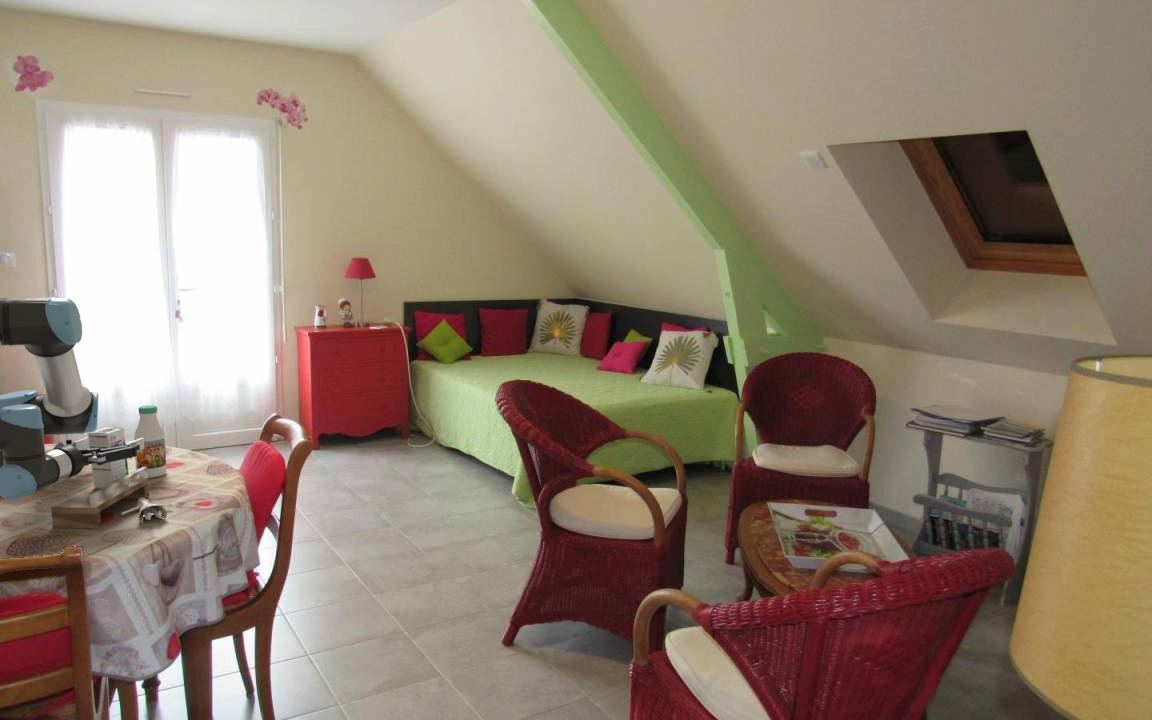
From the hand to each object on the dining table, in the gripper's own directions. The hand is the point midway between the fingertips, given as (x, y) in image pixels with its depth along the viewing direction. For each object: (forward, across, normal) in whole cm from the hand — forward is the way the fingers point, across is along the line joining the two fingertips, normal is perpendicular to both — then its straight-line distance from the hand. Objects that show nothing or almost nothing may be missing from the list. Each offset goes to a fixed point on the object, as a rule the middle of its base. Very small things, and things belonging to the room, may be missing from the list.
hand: (117, 442), depth 205 cm
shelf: (-8, +1, -16) cm, 18 cm away
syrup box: (-3, 0, -11) cm, 11 cm away
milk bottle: (+22, -6, -16) cm, 28 cm away
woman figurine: (-9, +13, -16) cm, 23 cm away
